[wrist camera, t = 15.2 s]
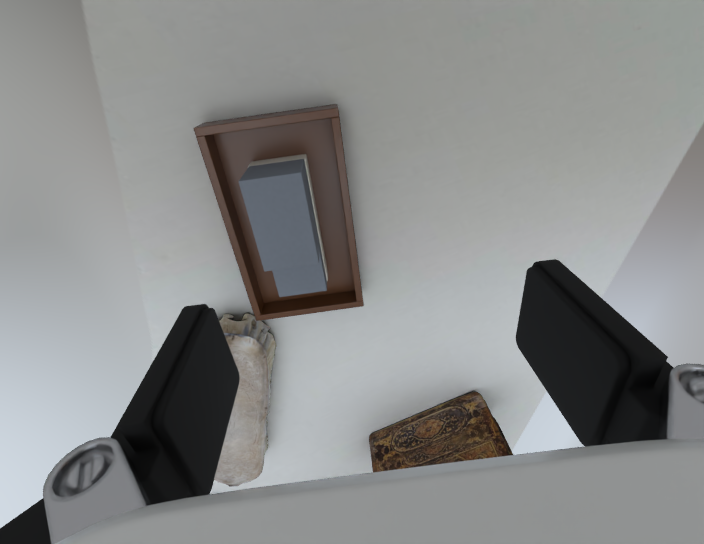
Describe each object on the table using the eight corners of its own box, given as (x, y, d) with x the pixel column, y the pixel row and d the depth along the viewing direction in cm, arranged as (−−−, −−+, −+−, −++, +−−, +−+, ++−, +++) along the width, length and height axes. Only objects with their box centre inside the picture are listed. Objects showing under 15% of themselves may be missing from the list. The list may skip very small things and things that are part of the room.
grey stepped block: (251, 161, 28) (236, 181, 24) (306, 153, 28) (302, 172, 24) (281, 278, 34) (274, 314, 29) (327, 272, 34) (328, 306, 29)
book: (382, 456, 50) (425, 752, 29) (363, 436, 48) (395, 744, 26) (492, 412, 47) (635, 708, 25) (478, 388, 44) (624, 694, 23)
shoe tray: (203, 122, 27) (193, 128, 25) (336, 103, 27) (337, 107, 25) (260, 305, 36) (256, 321, 34) (361, 291, 36) (363, 306, 34)
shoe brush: (271, 454, 48) (266, 493, 44) (213, 453, 47) (202, 492, 43) (278, 310, 37) (272, 343, 32) (202, 305, 36) (185, 338, 31)
